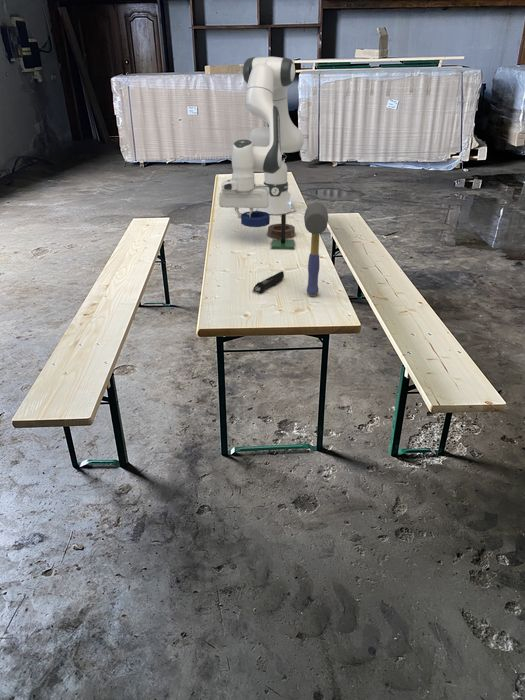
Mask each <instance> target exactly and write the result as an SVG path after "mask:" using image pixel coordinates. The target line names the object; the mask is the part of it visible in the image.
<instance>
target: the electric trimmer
mask: <svg viewBox="0 0 525 700" xmlns="http://www.w3.org/2000/svg"><path fill="white" fill-rule="evenodd" d="M284 278H285V272H284V271H279V272H277V273H275V274H273V275H271V276H269V277H268V278H265V279H263V280H262V281H257V283H256V284H255V285H254V286H253V288H252V291H253V292H254V293H256V294H263V293H264V291H265V290H266V289H267V288H270V287H271V286H275V285H277V284H279V282H281V280H283V279H284Z"/></svg>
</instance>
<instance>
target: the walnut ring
mask: <svg viewBox="0 0 525 700" xmlns="http://www.w3.org/2000/svg"><path fill="white" fill-rule="evenodd" d="M267 226H268V227H267V236H268V237H269V238H271V239H281V223H273V224H269V225H267ZM295 233H296V227H295V226H294V225H292V224H288V223H286V230H285V239H293V238H294V237H295V235H296V234H295Z"/></svg>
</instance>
